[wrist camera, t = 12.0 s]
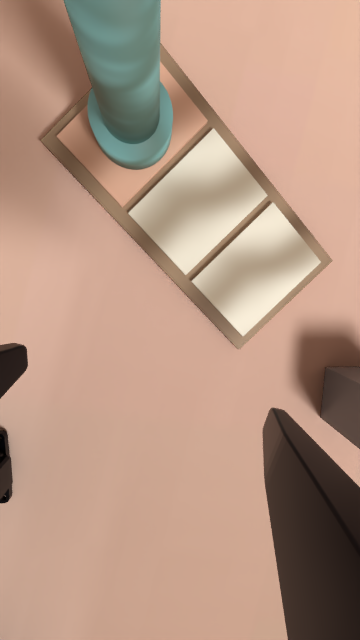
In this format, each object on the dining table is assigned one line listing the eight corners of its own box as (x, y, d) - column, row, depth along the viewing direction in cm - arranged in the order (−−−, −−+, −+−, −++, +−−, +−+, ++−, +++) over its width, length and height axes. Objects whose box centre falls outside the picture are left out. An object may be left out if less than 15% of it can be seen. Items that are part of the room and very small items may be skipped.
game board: (327, 261, 21) (335, 260, 20) (236, 348, 21) (239, 350, 21) (149, 37, 18) (149, 24, 17) (44, 145, 18) (38, 137, 17)
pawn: (117, 182, 18) (21, -58, 5) (79, 105, 17) (-139, -396, 5) (184, 150, 18) (242, -159, 6) (150, 71, 17) (129, -506, 5)
